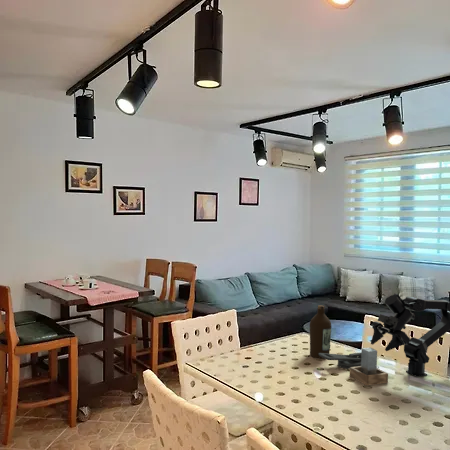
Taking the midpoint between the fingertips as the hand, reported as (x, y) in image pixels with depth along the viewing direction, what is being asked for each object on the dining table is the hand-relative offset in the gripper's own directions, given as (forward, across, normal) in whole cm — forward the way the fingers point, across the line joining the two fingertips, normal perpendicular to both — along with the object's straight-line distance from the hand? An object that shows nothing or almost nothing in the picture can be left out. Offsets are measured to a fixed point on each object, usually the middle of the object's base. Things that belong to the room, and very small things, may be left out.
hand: (378, 347), depth 182 cm
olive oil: (+16, -32, +4) cm, 36 cm away
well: (+13, 0, +6) cm, 14 cm away
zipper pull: (+14, -16, +6) cm, 22 cm away
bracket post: (+12, 0, +6) cm, 13 cm away
